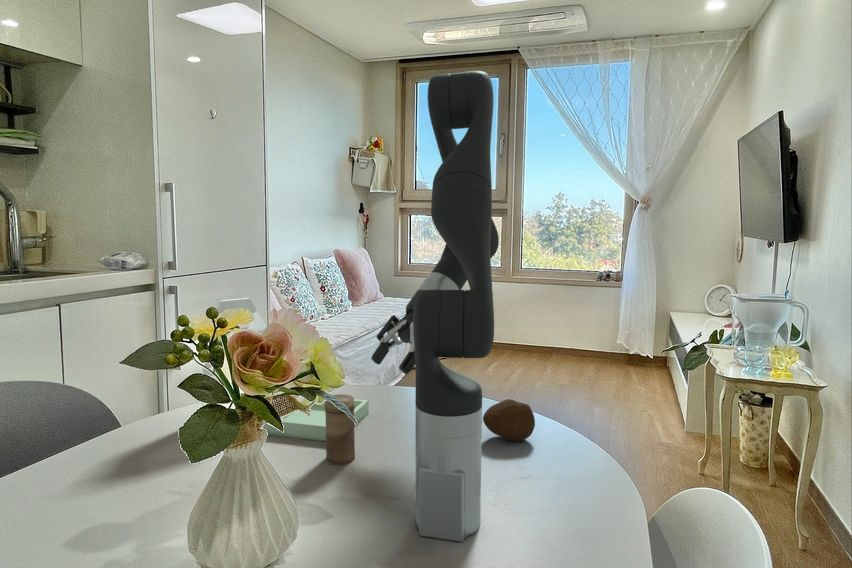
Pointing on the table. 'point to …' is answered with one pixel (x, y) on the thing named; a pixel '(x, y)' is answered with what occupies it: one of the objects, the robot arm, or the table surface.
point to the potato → (510, 420)
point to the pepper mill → (340, 432)
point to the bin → (313, 422)
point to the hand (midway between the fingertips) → (388, 366)
